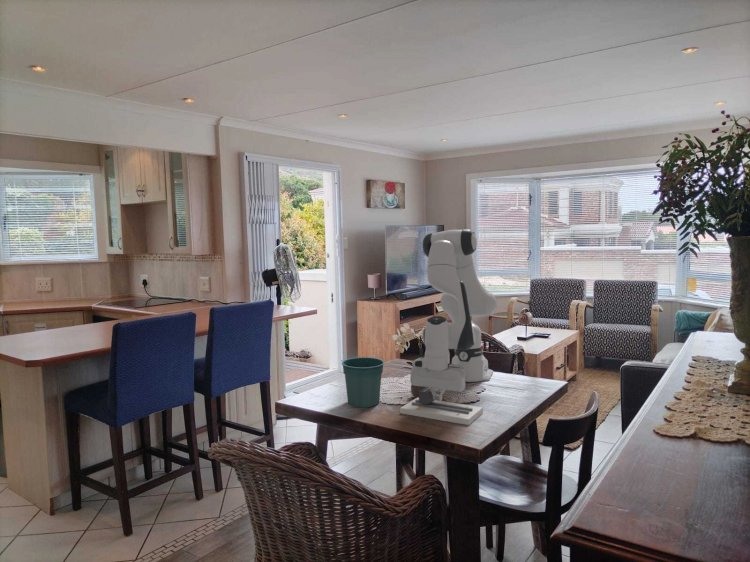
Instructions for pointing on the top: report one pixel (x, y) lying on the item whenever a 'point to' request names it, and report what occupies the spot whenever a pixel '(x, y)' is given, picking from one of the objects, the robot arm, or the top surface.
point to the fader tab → (425, 396)
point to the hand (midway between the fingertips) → (437, 400)
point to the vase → (416, 390)
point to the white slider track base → (443, 411)
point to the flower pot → (363, 380)
